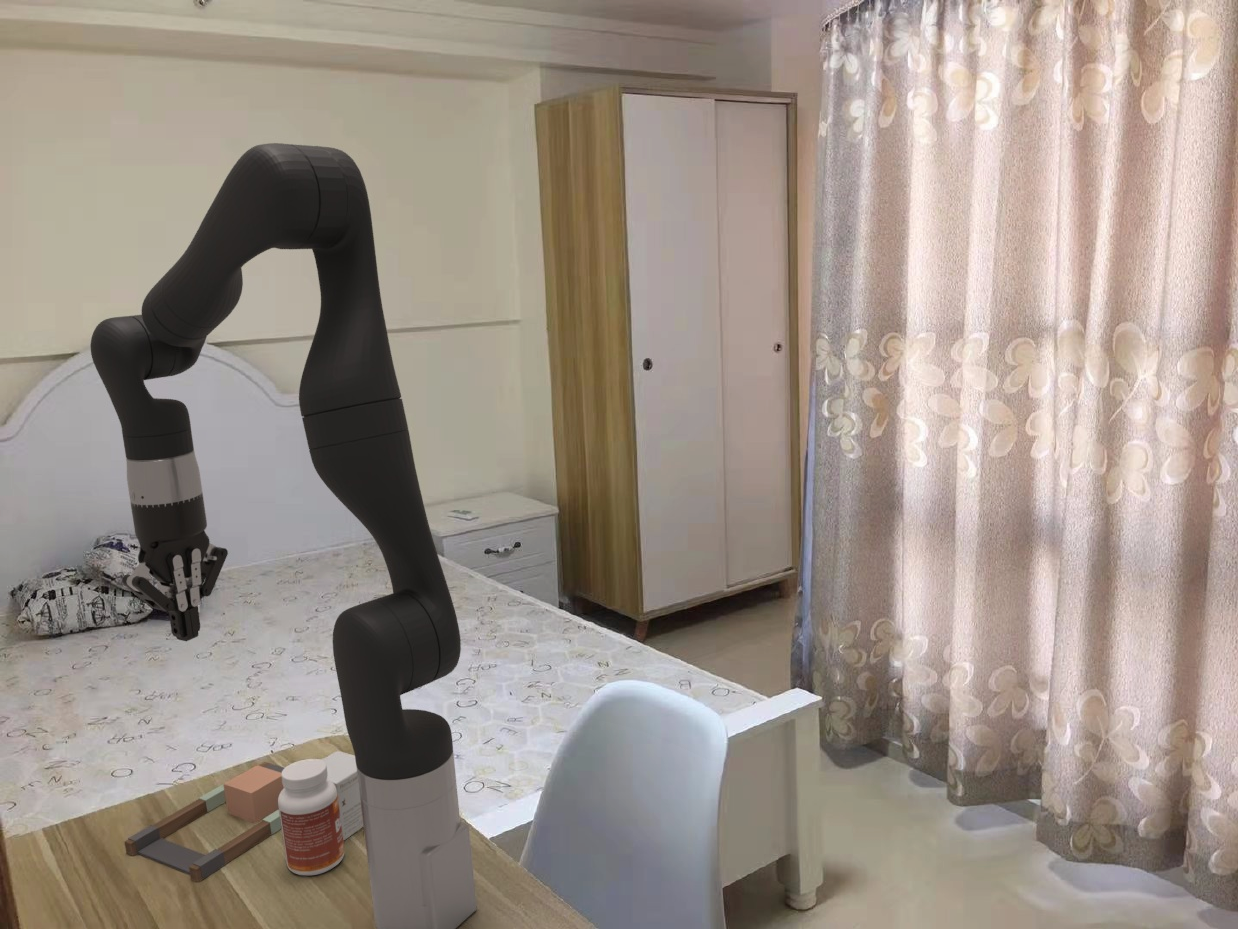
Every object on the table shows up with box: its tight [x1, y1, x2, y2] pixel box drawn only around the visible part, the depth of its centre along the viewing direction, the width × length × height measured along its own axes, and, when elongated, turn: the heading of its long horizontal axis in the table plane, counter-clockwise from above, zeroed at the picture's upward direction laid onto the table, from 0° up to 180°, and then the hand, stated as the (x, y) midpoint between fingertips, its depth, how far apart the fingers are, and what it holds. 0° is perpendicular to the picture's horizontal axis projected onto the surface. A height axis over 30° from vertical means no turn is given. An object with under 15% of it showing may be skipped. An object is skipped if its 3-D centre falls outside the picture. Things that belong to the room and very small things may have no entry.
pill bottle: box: [278, 758, 345, 876], centre depth 114 cm, size 6×6×11 cm
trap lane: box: [124, 761, 285, 883], centre depth 124 cm, size 12×20×2 cm, turn 149°
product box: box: [320, 750, 364, 841], centre depth 122 cm, size 6×6×7 cm
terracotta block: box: [222, 764, 284, 824], centre depth 126 cm, size 5×5×4 cm
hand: (187, 638), depth 122 cm, fingers closed
